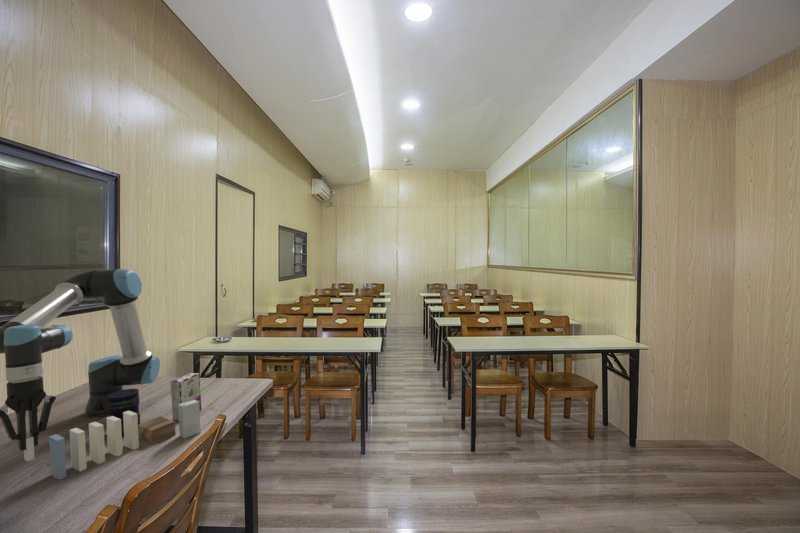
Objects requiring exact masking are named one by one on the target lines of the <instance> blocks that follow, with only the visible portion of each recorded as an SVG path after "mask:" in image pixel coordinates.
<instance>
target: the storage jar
mask: <svg viewBox="0 0 800 533" xmlns="http://www.w3.org/2000/svg"><path fill="white" fill-rule="evenodd" d="M139 394H140V393H139V389H137V388H128V389H123V390H120V391H116V392H113V393H111V394H109V395H108V411H109V416H108V417H111V416H114V417H117V418H119V419H121V430H122V436H123V437H124V423H123V412H126V411H131V412H134V413H137V418H138V425H139V424H141V413H140V406H139V405H140V395H139Z"/></svg>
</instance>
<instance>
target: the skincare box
mask: <svg viewBox="0 0 800 533" xmlns="http://www.w3.org/2000/svg"><path fill="white" fill-rule="evenodd" d="M178 413H179V421H178V424H179V425H178V426H179V436H180V437H181V438H182V439H187V438H190V437H192V436H195V435H198V434H200V433H201V414H200V411H199V402H198V401H196V400H192V401H188V402H185V403H182V404H178Z"/></svg>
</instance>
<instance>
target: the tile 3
mask: <svg viewBox="0 0 800 533" xmlns="http://www.w3.org/2000/svg"><path fill="white" fill-rule="evenodd" d="M106 437H107V439H106V440H107V441H106V442H107V453H108V454H111V455H113V456H114V457H119V456H122V455H124V454H123V437H122V430H121V419H119V418H117V417H114V416H111V417H109V416H108V417H107V416H106Z"/></svg>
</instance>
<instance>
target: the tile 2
mask: <svg viewBox="0 0 800 533" xmlns="http://www.w3.org/2000/svg"><path fill="white" fill-rule="evenodd" d="M104 429H105V428H104V424H102V423H100V422H97V421H93V422H90V423H89V422H88V437H89V459H91V461H92V460H93V461H92V462H94V463H96V464H98V465H100V464H103V463H105V462H106V451H105V432H104V431H105V430H104Z"/></svg>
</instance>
